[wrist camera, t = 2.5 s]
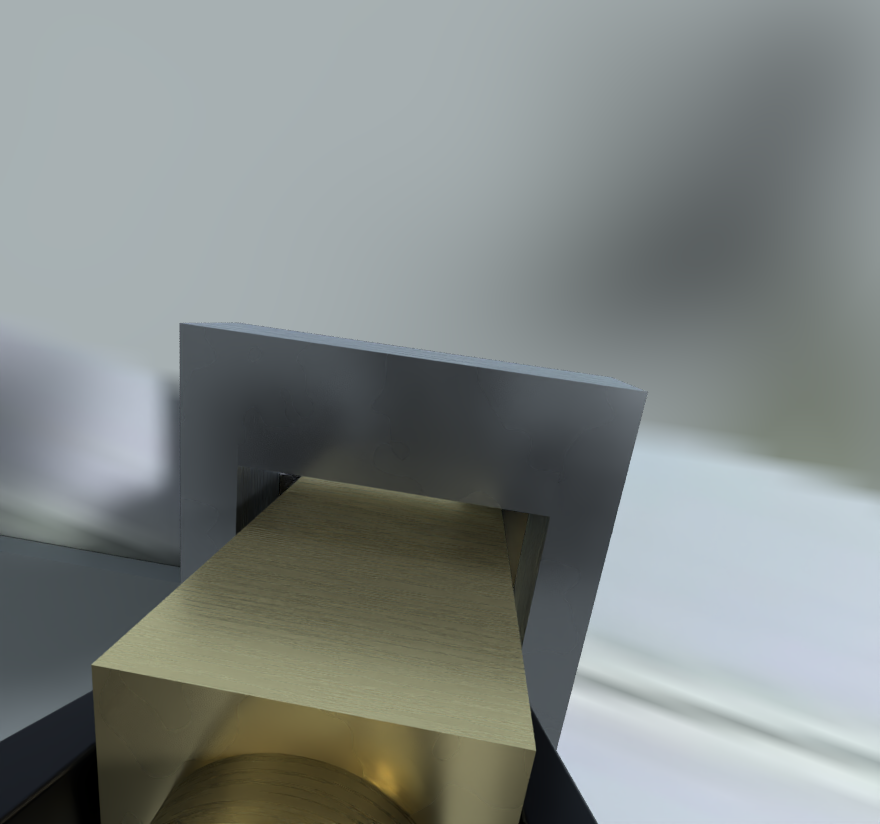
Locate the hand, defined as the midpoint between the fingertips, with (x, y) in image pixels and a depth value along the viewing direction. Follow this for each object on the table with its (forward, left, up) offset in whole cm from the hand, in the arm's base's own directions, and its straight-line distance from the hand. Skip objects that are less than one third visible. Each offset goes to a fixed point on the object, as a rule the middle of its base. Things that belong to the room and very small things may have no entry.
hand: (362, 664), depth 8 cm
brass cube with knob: (0, 0, -3) cm, 3 cm away
